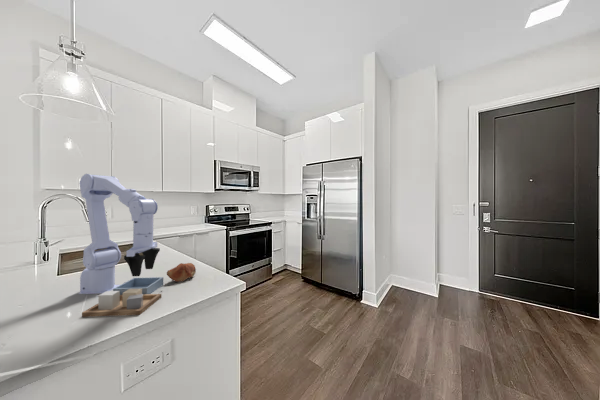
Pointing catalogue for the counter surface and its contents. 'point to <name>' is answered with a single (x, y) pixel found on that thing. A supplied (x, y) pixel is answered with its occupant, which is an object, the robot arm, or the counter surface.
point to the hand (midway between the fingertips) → (143, 272)
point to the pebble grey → (108, 300)
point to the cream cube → (129, 293)
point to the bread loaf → (182, 272)
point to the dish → (141, 285)
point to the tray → (123, 308)
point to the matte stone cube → (135, 301)
